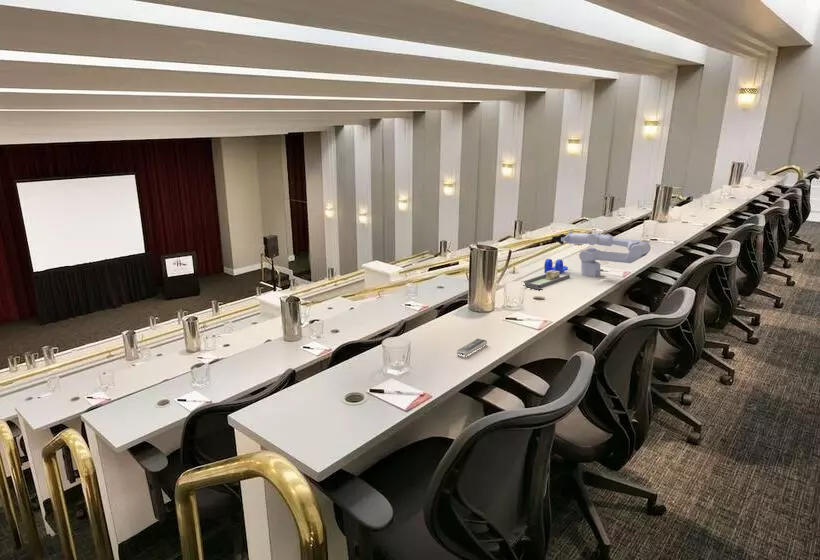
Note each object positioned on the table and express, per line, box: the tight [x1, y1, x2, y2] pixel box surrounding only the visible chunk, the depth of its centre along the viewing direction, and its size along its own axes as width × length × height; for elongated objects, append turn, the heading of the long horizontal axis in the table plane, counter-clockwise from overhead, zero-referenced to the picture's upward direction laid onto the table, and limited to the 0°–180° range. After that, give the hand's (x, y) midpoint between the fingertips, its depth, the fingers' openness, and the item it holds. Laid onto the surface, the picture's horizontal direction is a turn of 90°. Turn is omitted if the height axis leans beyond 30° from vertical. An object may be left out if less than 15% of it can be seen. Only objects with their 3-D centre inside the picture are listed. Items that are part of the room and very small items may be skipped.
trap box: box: [522, 273, 571, 292], centre depth 279 cm, size 12×27×3 cm, turn 130°
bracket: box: [544, 258, 569, 274], centre depth 301 cm, size 18×8×9 cm, turn 145°
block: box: [545, 270, 561, 280], centre depth 283 cm, size 5×5×4 cm
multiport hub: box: [456, 338, 488, 356], centre depth 196 cm, size 4×14×2 cm, turn 141°
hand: (556, 238), depth 296 cm, fingers open, 7 cm apart
